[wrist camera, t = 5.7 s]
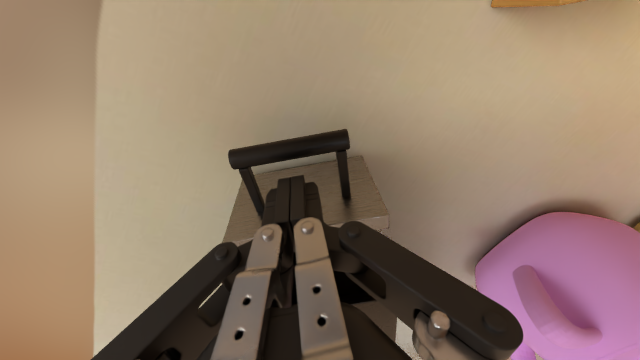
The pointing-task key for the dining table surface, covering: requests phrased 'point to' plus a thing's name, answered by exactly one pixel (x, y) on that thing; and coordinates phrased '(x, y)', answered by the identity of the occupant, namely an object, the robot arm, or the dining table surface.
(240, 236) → the cabinet drawer
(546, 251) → the teapot
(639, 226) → the fruit
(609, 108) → the dining table surface
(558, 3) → the light brown cube
